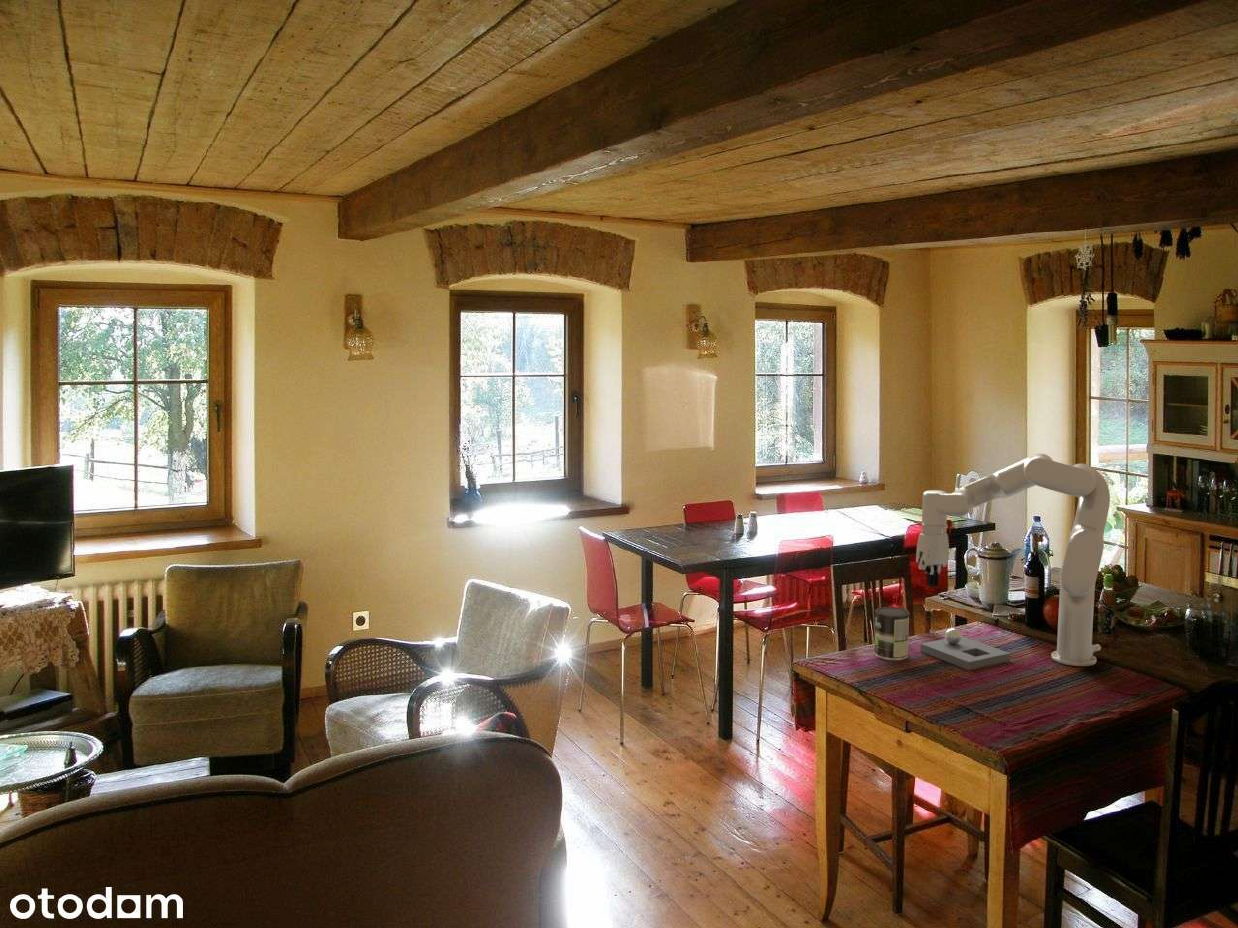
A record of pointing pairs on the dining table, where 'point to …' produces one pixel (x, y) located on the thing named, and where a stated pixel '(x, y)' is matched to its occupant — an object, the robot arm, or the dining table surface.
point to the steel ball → (953, 636)
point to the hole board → (965, 653)
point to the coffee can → (891, 633)
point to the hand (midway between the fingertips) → (932, 585)
